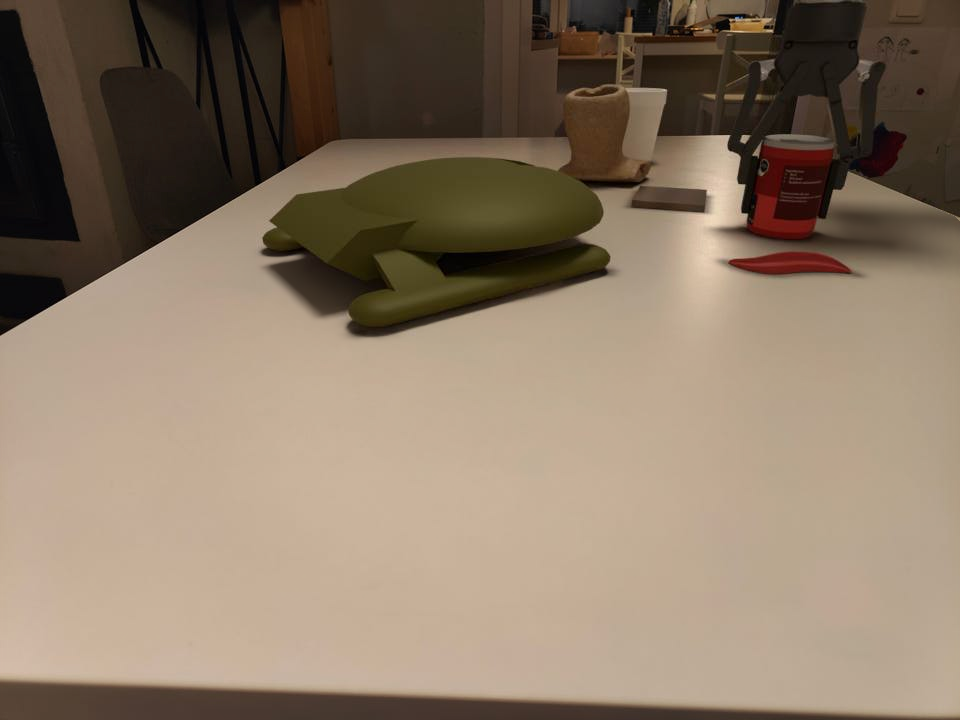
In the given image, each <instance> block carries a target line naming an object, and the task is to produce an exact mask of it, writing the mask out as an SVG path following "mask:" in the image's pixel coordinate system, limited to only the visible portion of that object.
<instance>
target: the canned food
mask: <svg viewBox="0 0 960 720" xmlns="http://www.w3.org/2000/svg"><path fill="white" fill-rule="evenodd" d="M759 148H760V149H759V153H758V164H757V170H756V175H755V180H754V185H753V190H752V195H751V200H750V206H749V211H748V214H747V217H746V227H747V229H748V230H749V231H750V232H751V233H754V234H756V235H759V236H763V237H767V238H772V239H780V240H801V239H805V238H808V237H810V236H811V235H812V233H813V232H814V230H815V229H816V228H815V227H816V225H817V219H818V212H819V208H820V204H821V200H822V196H823V192H824V188H825V185H826V181H827V177H828V173H829V169H830V165H831V161H832V159H833V155H834V153H835V152H834V151H835V149H836V146H835V141H834V139H833V138H829V137H825V136H817V135H808V134H792V133H791V134H789V133H787V134H786V133H785V134H784V133H781V134H780V133H779V134H769V135H765V137H764V138H763V140H762V141H761V143H760V147H759Z"/></svg>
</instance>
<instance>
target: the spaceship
mask: <svg viewBox="0 0 960 720" xmlns="http://www.w3.org/2000/svg"><path fill="white" fill-rule="evenodd" d="M604 213H605V211H604V207H603V203H602V201H601V199H600V198H599V195H597V194H596V193H595V192H594V191H593V190H592V189H591V188H590V187H588V186H587V185H586V184H585V183H584V182H582V180H577V179H575V178H573V177H571V176H569V175H567V174H564V173H562V172H560V171H558V170H557V169H556V170H555V169H552V168H549V167H544V166H537V165H535V164H531V163H527V162H523V161H521V160H519V161H518V160H515V159H514V160H513V159H507V158H498V157H481V156H477V157H476V156H458V157H457V156H456V157H442V158H432V159H431V158H430V159H425V160H419V161H413V162H407V163H403V164H398V165H394V166H390V167H388V168H387V167H386V168H384V169H381V170H378V171H376V172H372V173H370V174H368V175H365V176H363V177H361V178H360V179H357V180H356V181H353V182H352V183H350V184H349V185H347V186H345V187H339V188H333V189H324V190H319V191H318V190H317V191H311V192H304V193H297V194H295V195H294V196H293V197H292V198H291V199H290V200H289V201H288V202H287V203H285V204H284V206H283V207H282V208H280V210H278V212H276V213H275V214H274V215H273V216H272V217H271V218H270V219H269V220H268V222H269V223H271V224H272V225H273V226H274V227H273V228H271V229H269V230H268V231H266V232H265V233H264V234H263V236H262V237H261V239H262V243H263V245H264V246H265V247H266V248H267V249H270V250H274V251H278V252H288V251H293V250H300V249H304V248H305V249H306V250H308V251H309V252H310V253H311V254H313V255H314V256H316V257H317V258H318V259H320V260H321V261H322V262H324V263H325V264H327V265H328V266H331V267H334V268H336V269H338V270H340V271H342V272H345V273H346V274H349V275H350V276H353V277H355V278H358V279H360V280H362V281H364V282H368V281H372V280H377V279H383V281H384V284H385V285H386V286H387V287H386V288H383V289H379V290H373V291H370V292H367V293H364V294H361V295H358V296H357V297H356V298H354V299H353V300H352V301H351V303H350V305H348V306H349V307H348V308H347V309H348V315H349V317H350V319H351V320H352V321H354V322H355V323H357V324H358V325H360V326H365V327H371V328H381V327H387V326H392V325H393V326H394V325H396V324H401V323H404V322H408V321H411V320H415V319H419V318H422V317H426V316H430V315H434V314H438V313H443V312H446V311H450V310H453V309H456V308H460V307H465V306H468V305H472V304H475V303H480V302H483V301H487V300H490V299H491V300H492V299H495V298H499V297H502V296H505V295H509V294H513V293H518V292H521V291H525V290H528V289H533V288H536V287H540V286H543V285H548V284H552V283H556V282H560V281H563V280H567V279H571V278H574V277H578V276H581V275H585V274H589V273H593V272H597V271H599V270H602V269H605V267H606V266H608V265H609V264H610V262H611V254H610V253H609V252H608V250H607V249H606V248H604V247H602V246H599V245H598V244H593V243H577V244H573V245H569V246H564V247H559V248H556V249H551V250H547V251H543V252H539V253H534V254H529V255H526V256H522V257H517V258H513V259H508V260H504V261H500V262H496V263H491V264H487V265H482V266H478V267H473V268H469V269H466V270H465V269H464V270H461V271H458V272H453V273H452V272H451V273H447V274H444V273H443V272H442V270H441V269H440V267H439V265H438V264H437V262H438V260H439V259H440V258H441V257H442V256H443V255H445V253H458V254H459V253H460V254H461V253H484V252H485V253H486V252H487V253H489V252H501V251H509V250H519V249H528V248H533V247H538V246H544V245H550V244H554V243H558V242H562V241H566V240H568V239H573V238H575V237H578V236H580V235H582V234H584V233H586V232H589V231H592V229H594V228H596V226H598V225H599V224H601V222H602V219H603V217H604Z"/></svg>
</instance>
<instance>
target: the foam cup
mask: <svg viewBox="0 0 960 720" xmlns="http://www.w3.org/2000/svg"><path fill="white" fill-rule="evenodd" d="M624 88H625V89H626V91H627V93H628V96H629V101H630V115H629V120H628V124H627V128H626V132H625V136H624V140H623V145H622V152H623V155H624V156H625V157H627V158H630V159H637V160H650V161H651V160H652V158H653V153H654V149H655V145H656V140H657V137H658V133H659V129H660V124H661V121H662V116H663V111H664V109H665V105H666V104H667V95H668V89H665V88H657V87H656V88H655V87H654V88H653V87H624Z"/></svg>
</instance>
